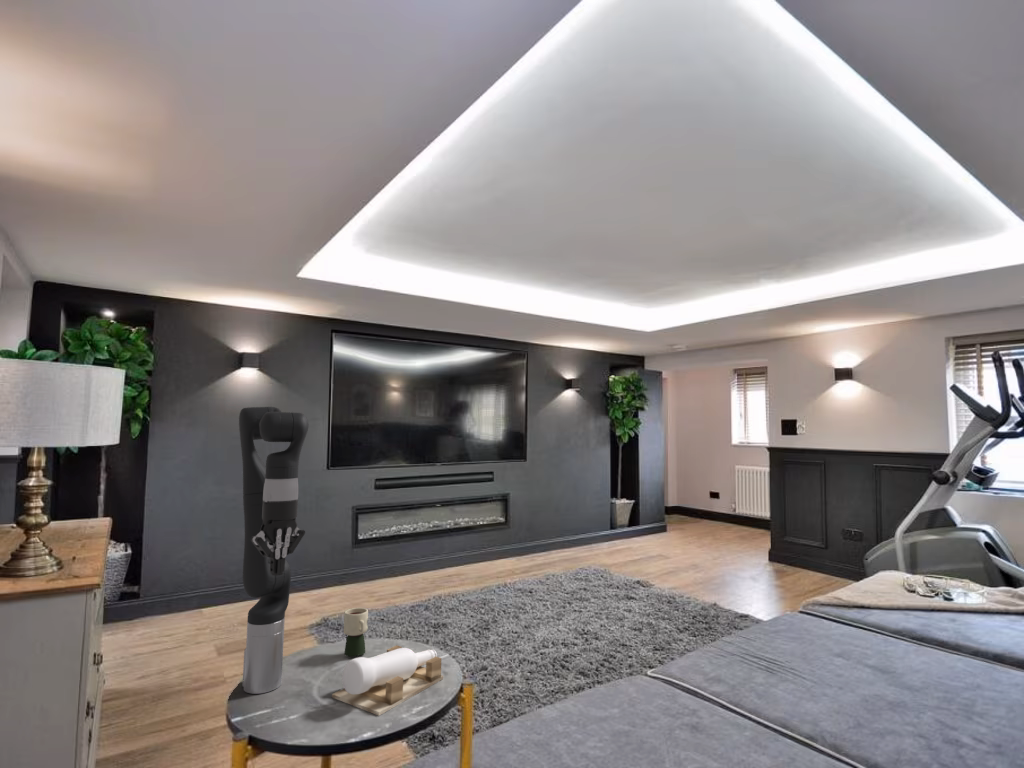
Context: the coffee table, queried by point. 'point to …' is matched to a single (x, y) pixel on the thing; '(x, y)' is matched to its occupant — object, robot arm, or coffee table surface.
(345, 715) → the coffee table surface
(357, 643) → the character mug
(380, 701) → the bottle cradle
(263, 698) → the coffee table surface
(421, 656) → the bottle
